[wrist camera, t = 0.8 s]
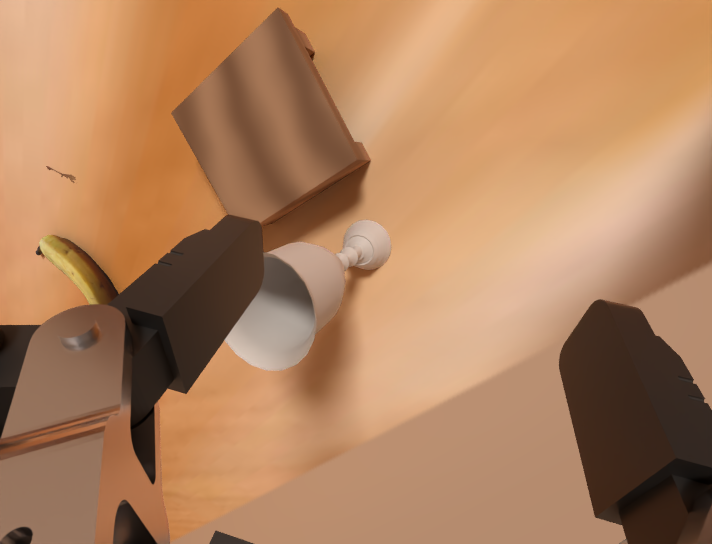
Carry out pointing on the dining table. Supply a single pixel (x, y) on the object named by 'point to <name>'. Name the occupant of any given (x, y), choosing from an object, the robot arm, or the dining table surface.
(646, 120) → the dining table surface
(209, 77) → the square lamp base
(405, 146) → the dining table surface
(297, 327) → the chalice
